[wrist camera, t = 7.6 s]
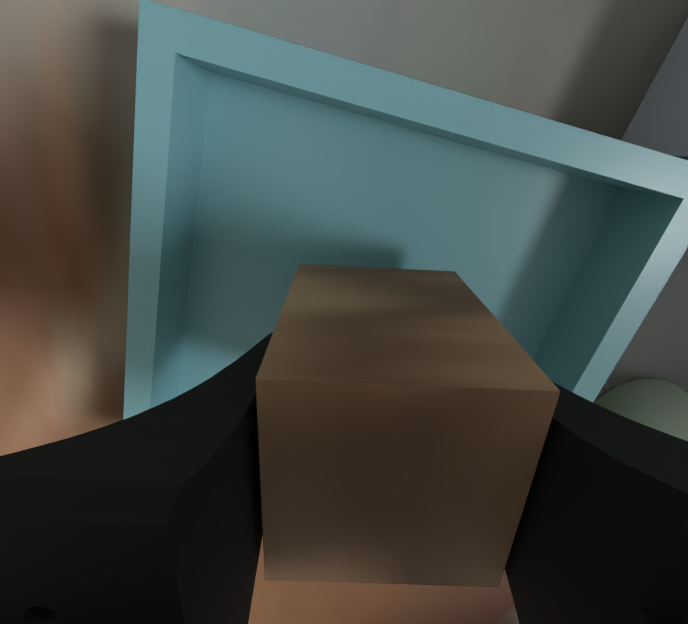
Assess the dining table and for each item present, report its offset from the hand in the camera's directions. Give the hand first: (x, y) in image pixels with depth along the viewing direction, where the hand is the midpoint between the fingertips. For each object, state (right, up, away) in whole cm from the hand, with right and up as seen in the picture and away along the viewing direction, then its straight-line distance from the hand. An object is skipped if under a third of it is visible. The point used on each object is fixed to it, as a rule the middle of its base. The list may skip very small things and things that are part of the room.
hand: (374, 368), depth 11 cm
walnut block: (0, +1, +1) cm, 2 cm away
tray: (0, +1, +3) cm, 4 cm away
